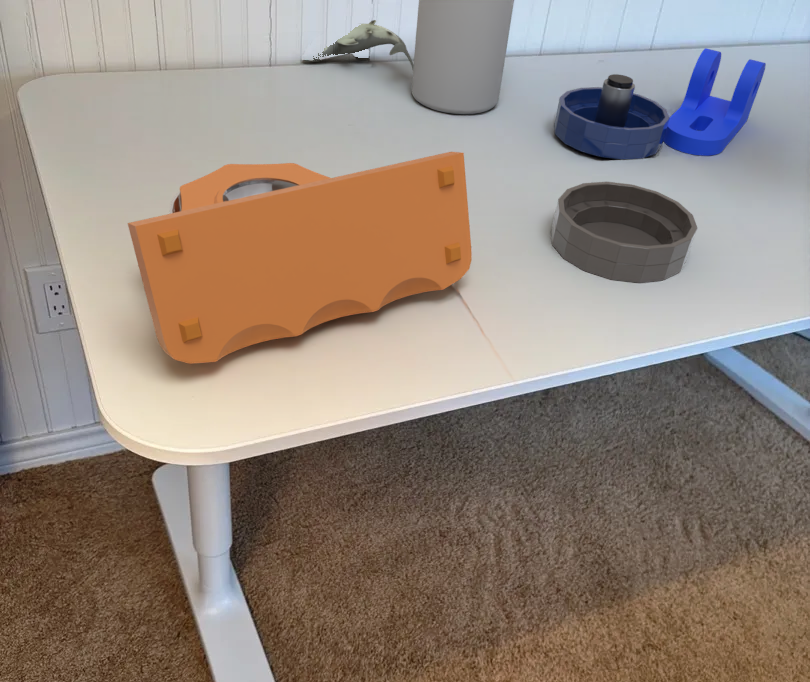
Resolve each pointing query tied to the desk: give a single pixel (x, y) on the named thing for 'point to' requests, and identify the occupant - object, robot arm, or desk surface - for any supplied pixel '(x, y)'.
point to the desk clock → (297, 249)
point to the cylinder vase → (460, 54)
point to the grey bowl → (622, 231)
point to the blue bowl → (610, 141)
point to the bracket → (712, 108)
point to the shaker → (615, 100)
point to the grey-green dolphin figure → (366, 41)
